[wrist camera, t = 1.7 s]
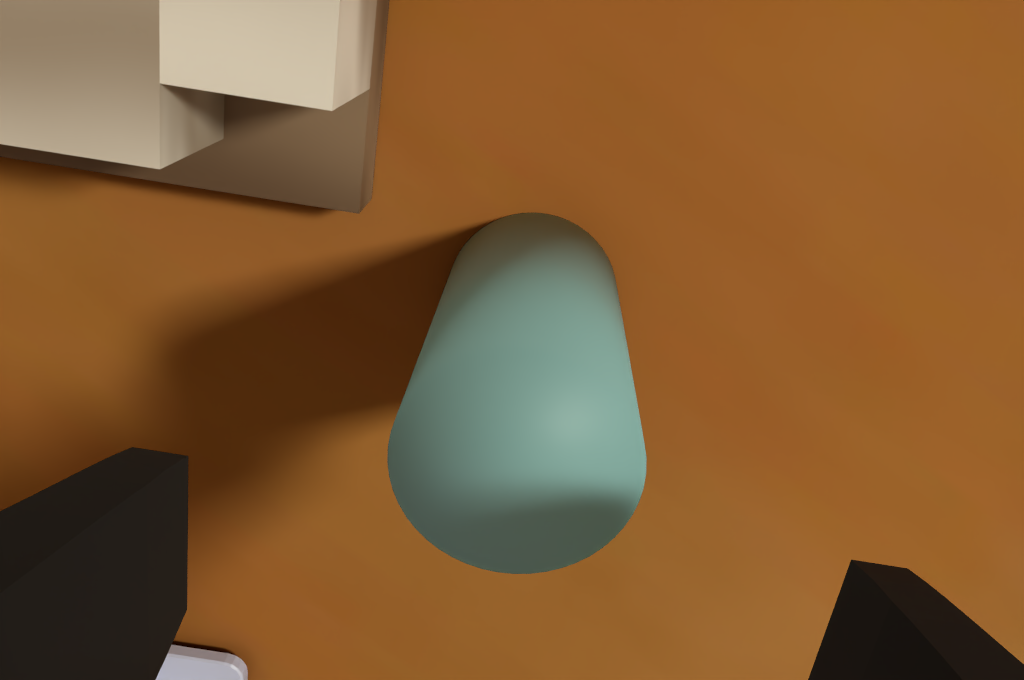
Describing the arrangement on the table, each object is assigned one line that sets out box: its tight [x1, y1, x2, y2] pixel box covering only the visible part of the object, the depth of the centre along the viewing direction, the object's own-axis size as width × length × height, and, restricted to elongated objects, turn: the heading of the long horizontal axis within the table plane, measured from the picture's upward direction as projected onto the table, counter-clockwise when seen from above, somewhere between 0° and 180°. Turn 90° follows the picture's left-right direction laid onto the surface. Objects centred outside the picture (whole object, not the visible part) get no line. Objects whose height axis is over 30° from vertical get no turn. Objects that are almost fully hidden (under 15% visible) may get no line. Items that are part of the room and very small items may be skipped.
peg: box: [388, 213, 646, 574], centre depth 15 cm, size 4×4×7 cm
